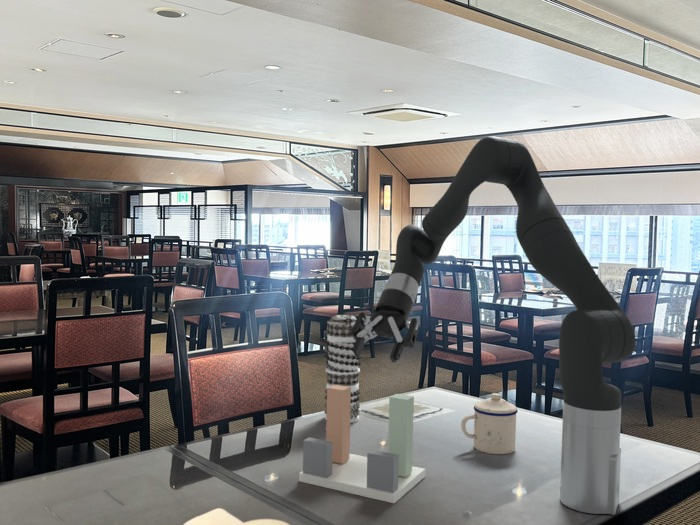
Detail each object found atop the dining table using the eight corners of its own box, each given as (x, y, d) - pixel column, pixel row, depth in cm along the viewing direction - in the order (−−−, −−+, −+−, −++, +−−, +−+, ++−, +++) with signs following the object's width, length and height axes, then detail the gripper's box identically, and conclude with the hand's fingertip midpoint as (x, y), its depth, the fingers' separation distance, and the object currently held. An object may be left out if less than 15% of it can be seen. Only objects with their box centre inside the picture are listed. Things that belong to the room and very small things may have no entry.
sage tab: (412, 471, 120) (413, 396, 120) (405, 477, 118) (407, 399, 117) (394, 468, 122) (396, 393, 121) (387, 473, 119) (389, 397, 119)
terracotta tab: (349, 458, 126) (350, 386, 126) (341, 463, 124) (343, 390, 123) (333, 455, 128) (334, 384, 127) (325, 460, 125) (327, 387, 125)
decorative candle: (348, 426, 153) (350, 319, 152) (315, 419, 158) (317, 316, 157) (367, 417, 161) (370, 315, 160) (336, 411, 166) (337, 312, 165)
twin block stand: (425, 476, 123) (426, 437, 123) (394, 503, 111) (395, 459, 110) (336, 458, 132) (337, 421, 131) (298, 481, 120) (299, 440, 119)
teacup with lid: (505, 440, 145) (507, 388, 145) (523, 454, 136) (525, 399, 136) (453, 442, 143) (455, 389, 143) (468, 457, 134) (470, 400, 134)
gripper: (364, 284, 148) (338, 343, 139) (423, 289, 142) (400, 351, 133) (373, 305, 154) (349, 363, 144) (431, 311, 147) (409, 372, 138)
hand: (374, 357), depth 139 cm, fingers open, 8 cm apart
